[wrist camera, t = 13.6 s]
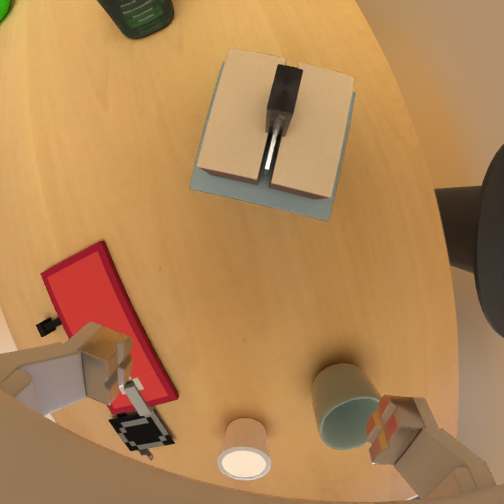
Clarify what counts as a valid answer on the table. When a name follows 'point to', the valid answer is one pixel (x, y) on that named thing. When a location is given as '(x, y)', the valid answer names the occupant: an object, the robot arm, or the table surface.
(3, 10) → the plastic bottle
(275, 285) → the table surface
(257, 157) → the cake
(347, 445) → the cup
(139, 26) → the coffee jar
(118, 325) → the red board with handle
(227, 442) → the pale pink cylinder
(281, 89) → the knife
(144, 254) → the table surface
